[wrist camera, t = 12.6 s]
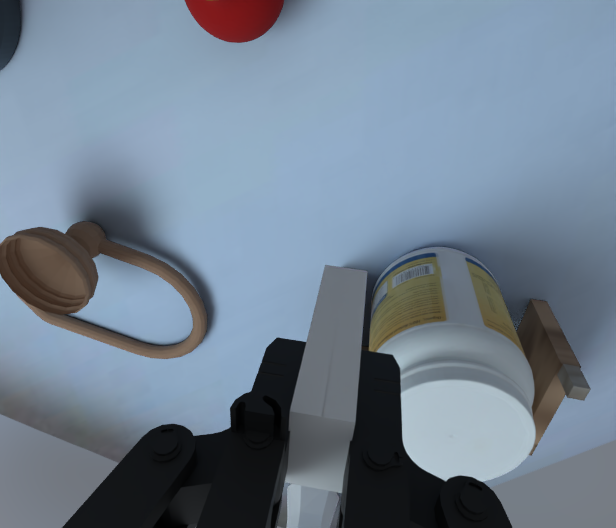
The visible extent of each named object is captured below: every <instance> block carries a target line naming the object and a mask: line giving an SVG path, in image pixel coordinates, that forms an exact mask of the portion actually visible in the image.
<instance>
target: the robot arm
mask: <svg viewBox="0 0 616 528" xmlns="http://www.w3.org/2000/svg"><path fill="white" fill-rule="evenodd" d="M19 33H20V4H19V0H0V70H1V69H2V68H3V67H4V66H5V65H6V64H7V63H8V62H9V60H10V59H11V57H12V55H13V53H14V51H15V49H16V46H17V43H18V38H19ZM366 283H367V271H365V270H358V269H350V268H343V267H336V266H329V265H325V268H324V272H323V276H322V280H321V285H320V289H319V293H318V297H317V301H316V305H315V309H314V313H313V318H312V322H311V326H310V330H309V334H308V338H307V342H302V341H296V340H289V339H283V338H276V339H275V340H274V341H273V342H272V343H271V344H270V345H269V346H268V347H267V348H266V351H265V354H264V357H263V359H262V363H261V365H260V368H259V371H258V374H257V376H256V379H255V382H254V385H253V388H252V391H251V392H249V393H245V394H243V395H242V396H240V397H239V398H237V399H236V400H235V401H234V403H233V404H232V406H231V407H230V417H231V427H230V428H229V429H227V430H224V431H222V432H218V433H214V434H207V435H198V436H193V434H192V432H191V431H190V430H188V429H187V428H186V427H184V426H181V425H177V424H167V425H161V426H159V427H156V428H154V429H152V430H150V431H149V432H148V433H147V434H146V435H144V436H143V437H142V438H141V439H140V440H139V441H138V443H137V444H136V445H135V446H134V447H133V448H132V449H131V450H130V452H129V453H128V454H127V455H126V456H125V457H124V458H123V460H122V461H121V462H120V463H119V464H118V465H117V466H116V467H115V469H114V470H113V471H112V472H111V473H110V474H109V476H107V478H106V479H105V480H104V481H103V482H102V483H101V484H100V485H99V487H98V488H97V489H96V490H95V491H94V492H93V493H92V495H91V496H90V497H89V498H88V499H87V500H86V501H85V502H84V504H83V505H82V506H81V507H80V508H79V509H78V510H77V511H76V513H75V514H74V515H73V516H72V517H71V518H70V519H69V520H68V522H67V523H66V524H65V525H64V526H63V528H195V527H196V528H277V523H278V519H279V514H280V509H281V503H282V492H283V487H284V482H286V483H291V484H296V485H301V486H306V487H312V488H317V489H322V490H327V491H333V492H338V493H342V498H341V506H340V511H339V517H338V522H337V527H336V528H512V525H511V523H510V521H509V519H508V517H507V515H506V512H505V510H504V508H503V506H502V504H501V502H500V500H499V499H498V498H497V496H496V494H495V493H494V491H492V490H491V489H490V488H489V487H488V486H487V485H486V484H484V483H483V482H481V481H479V480H477V479H475V478H473V477H469V476H462V475H459V476H455V477H451V478H449V479H448V480H447V481H445V480H443V479H441V478H439V477H437V476H435V475H433V474H431V473H429V472H427V471H425V470H424V469H422V468H420V467H419V466H418V465H417V464H416V463H415V462H413V461H412V459H411V458H410V457H409V455H408V454H407V452H406V450H405V448H404V445H403V439H402V409H401V385H400V383H401V377H400V367H399V365H398V363H397V361H396V360H395V358H394V356H393V355H391V354H385V353H378V352H372V351H366V350H361V345H362V333H363V320H364V308H365V295H366ZM196 525H197V526H196Z"/></svg>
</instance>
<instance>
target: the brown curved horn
mask: <svg viewBox="0 0 616 528" xmlns="http://www.w3.org/2000/svg"><path fill="white" fill-rule="evenodd" d="M100 253H102V254H104V255H107V256H110V257H113V258H116V259H118V260H121V261H124V262H127V263H130V264H132V265H135V266H138V267H141V268H143V269H146V270H148V271H150V272H152V273H154V274H156V275H158V276H160V277H161V278H162V279H164V280H165V281H167V282H168V283H170V284H171V285H172V286H173V287H174V288H175V289H176V290H177V291H178V292H179V293H180V294H181V295H182V297H183V298H184V300H185V301H186V303H187V304H188V306H189V308H190V311H191V314H192V317H193V329H192V332H191V334H190V336H189V337H188V338H187V339H186V340H185V341H183V342H181V343H178V344H176V345H170V346H156V345H151V344H147V343H143V342H140V341H137V340H134V339H131V338H129V337H126V336H123V335H120V334H117V333H114V332H112V331H109V330H106V329H103V328H100V327H97V326H95V325H92V324H89V323H86V322H83V321H81V320H78V319H75V318H72V317H69V316H66V315H64V314H71V313H77V312H78V311H80V310H81V309H82V308H83V307H85V306H86V305H87V304H88V302H89V299H91V298H92V297H93V295H94V292H95V289H96V285H97V281H98V273H97V269H96V265H95V263H94V261H93V260H92V258H94V257H96V256H98V255H99V254H100ZM0 274H1V276H2V278H3V279H4V281H5V282H6V283H7V284H8V286H9V287H10V288H11V290H12V291H13V292H14V293H16V295H17V296H18V297H19V298H20V299H21V300H22V301H23V302H24V303H25V304H26V305H27V306H28V307H29V308H30V309H31V310H32V311H33V312H34V313H35V314H36V315H37V316H39V317H40V318H41V319H42V320H44V321H46V322H47V323H49V324H52V325H55V326H58V327H61V328H64V329H66V330H69V331H72V332H75V333H78V334H81V335H83V336H86V337H89V338H92V339H95V340H98V341H100V342H103V343H106V344H109V345H112V346H115V347H117V348H120V349H123V350H126V351H129V352H132V353H134V354H138V355H142V356H145V357H149V358H159V359H169V358H176V357H181V356H183V355H186V354H188V353H190V352H192V351H193V350H194V349H195V348H196V347H197V346H198V345H199V344H200V343H201V342H202V340H203V338H204V336H205V333H206V331H207V313H206V310H205V307H204V303H203V301H202V299H201V298H200V296H199V294H198V293H197V291H196V289H195V288H194V287H193V286H192V285H191V284H190V282H189V281H188V280H187V279H186V278H185V277H184V276H183V275H182V274H181V273H179V272H178V271H177V270H175V269H174V268H172V267H171V266H170V265H168V264H167V263H165V262H163V261H161V260H159V259H157V258H155V257H152V256H150V255H148V254H145V253H143V252H140V251H137V250H134V249H131V248H128V247H126V246H123V245H120V244H117V243H114V242H112V241H109V240H106V235H105V233H104V231H103V229H102V228H101V227H100V226H99V225H97V224H95V223H92V222H86V221H82V222H78V223H76V224H73V225H72V226H71V227H70V228H69V229H68V230H67V232H66V233H65V234H64V233H62V232H60V231H58V230H55V229H49V228H44V227H37V228H31V229H27V230H22V231H18V232H16V233H15V234H14V235H12V236H8V237H7V238H5V240H4V241H3V242H2V243H1V244H0Z"/></svg>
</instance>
